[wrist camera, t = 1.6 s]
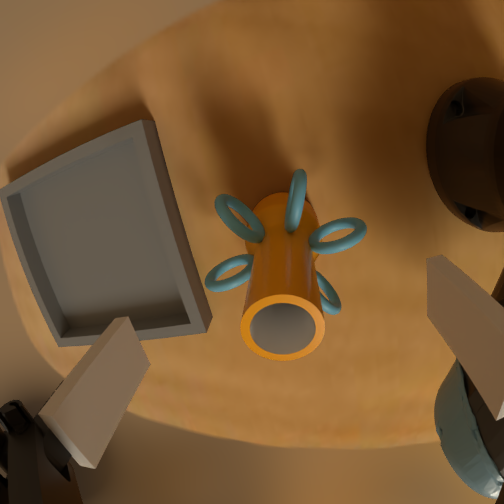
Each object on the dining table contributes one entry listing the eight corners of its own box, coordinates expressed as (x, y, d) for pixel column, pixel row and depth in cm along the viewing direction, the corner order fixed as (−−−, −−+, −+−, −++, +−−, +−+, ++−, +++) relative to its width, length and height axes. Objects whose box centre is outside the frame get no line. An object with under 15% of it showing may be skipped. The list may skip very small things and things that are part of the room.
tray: (154, 120, 27) (141, 119, 24) (212, 316, 33) (206, 332, 30) (15, 185, 30) (-2, 190, 27) (70, 334, 36) (58, 346, 33)
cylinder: (234, 145, 26) (181, 183, 12) (355, 169, 26) (427, 231, 12) (217, 273, 31) (173, 390, 18) (323, 292, 31) (342, 416, 17)
